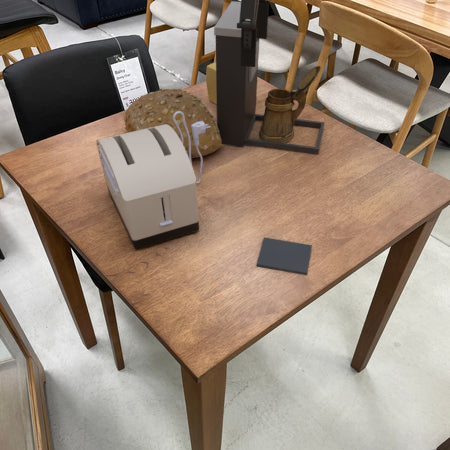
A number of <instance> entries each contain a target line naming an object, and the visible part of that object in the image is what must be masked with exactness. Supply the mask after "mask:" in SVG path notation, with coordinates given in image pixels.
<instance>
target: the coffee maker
mask: <svg viewBox="0 0 450 450" xmlns="http://www.w3.org/2000/svg"><path fill="white" fill-rule="evenodd" d="M240 9H241V1H235V0H234V1H230V3H229V4H228V6H227V8H226V9H225V11H224V12H223V13H222V15H221V16H220V18H219V19H218V21H217V23H216V24H215V25H214V27H213V35H214V36H215V62H216V94H217V104H216V123H217V127H218V130H219V134H220V138H221V139H222V141H221V142H222V145H225V146H232V147H238V148H244V147H245V146H252V147H259V148H265V149H266V148H267V149H274V150H281V151H289V152H297V153H302V154H303V153H304V154H311V155H312V154H313V155H319V153H320V147H321V143H322V139H323V133H324V129H325V128H324V127H325V122H324V121H317V120H308V119H302V118H301V119H300V118H297V119H296V121H295V123H294V126H299V127H305V128H313V129H314V128H315V129H319V133H318V139H317V143H316V146H310V145H304V144H303V145H302V144H295V143H288V142H286V143H279V142H272V141H264V140H262V139H255V138H250V136H251V134H252V131H253V128H254V126H255V123H256V121H257V122H258V121H259V122H262V121H263V116H264V114H259V113H256V109H257V94H258V93H257V92H258V91H257V90H258V77H259V76H258V75H259V58H260V57H259V55H260V39H258V38H257V40H256V64H255V67H247V66H241V29H239V28H237V23H239V20H240ZM245 21H251V20H250V19H246V20H245Z"/></svg>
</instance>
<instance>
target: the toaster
mask: <svg viewBox="0 0 450 450" xmlns="http://www.w3.org/2000/svg"><path fill="white" fill-rule="evenodd" d="M177 114H181V115H182V116H183V123H184V126H185V129H186V132H187V135H188V139H189V157H188V155H187V152H186V150H185V148H184V146H183V143H184V140H183V135H182V132H181V130H180V128H179V126H178V124H177V122H176V120H175V116H176V115H177ZM173 120H174V122H175V125H176V126H177V128H178V131H179V133H180V135H181V140H182V142H181V140H180V138H179V137H178V135H177V134H176V132H175V131H174V130H173V129H172V128H171V127H170V126H169V125H167V124H164V125H160V126H155V127H151V128H147V129H142V130H138V131H134V132H129V133H128V132H125V133H120V134H115V135H112V136H108V137H103V138H98V139H96V140H95V144H96V148H97V152H98V155H99V160H100V164H101V168H102V171H103V176H104V179H105V183H106V187H107V191H108V194H109V196H110V198H111V201H112V203H113V205H114V207H115V209H116V212H117V214H118V216H119V218H120V220H121V222H122V225H123V227H124V228H125V232H126V233H127V236H128V238H129V240H130V242H131V244H132V247H133V248H134V249H136V250H139V249H142V248H145V247H146V248H147V247H149V246H152V245H156V244H159V243H162V242H165V241H169V240H173V239H176V238H179V237H182V236H186V235H189V234H193V233H196V232H199V231H200V223H199V222H200V220H199V204H198V189H197V185H198V184H199V183H201V182H202V180H203V175H202V171H203V164H204V161H203V160H204V158H203V156H201V154H200V152H199V149H198V145H199V135H200V134H204V133H206V128H210V127H211V126H208V124H204V122H203V121H199V122H196V123H194V124H192V125H191V127H192V134H193V139H194V145H196V149H197V152H198V154H199V156H200V157H199V158H200V166H199V167H200V168H199V180H198V181H197V177H196V176H197V175H196V174H195V171H194V167H193V161H192V158H191V140H190V135H189V131H188V129H187V126H186V123H185V116H184V114H183V113H182V112H180V111H178V112H176V113H175V114H174V115H173ZM205 126H207V127H205Z"/></svg>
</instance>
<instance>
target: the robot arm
mask: <svg viewBox="0 0 450 450" xmlns="http://www.w3.org/2000/svg"><path fill="white" fill-rule="evenodd" d="M240 2H241V9H240V20H239V23H237V28H239V29H241V66H247V67H255V64H256V40H257V38H258V39H259V40H260V39H261V40H267V38H268V26H269V23H268V22H269V8H270V6H269V5H270V1H269V0H240ZM246 19H250V20H251V21H245V20H246Z"/></svg>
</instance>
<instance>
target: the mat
mask: <svg viewBox="0 0 450 450" xmlns="http://www.w3.org/2000/svg"><path fill="white" fill-rule="evenodd" d="M312 247H313V245H312V244H307V243H301V242H294V241H288V240H283V239H276V238H270V237H265V236H263V238H262V243H261V246H260V250H259V254H258V258H257V261H256V265H255V266H256V267H260V268H266V269H271V270H276V271H282V272H288V273H293V274H299V275H305V276H306V275H308V270H309V265H310V259H311V253H312Z"/></svg>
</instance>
